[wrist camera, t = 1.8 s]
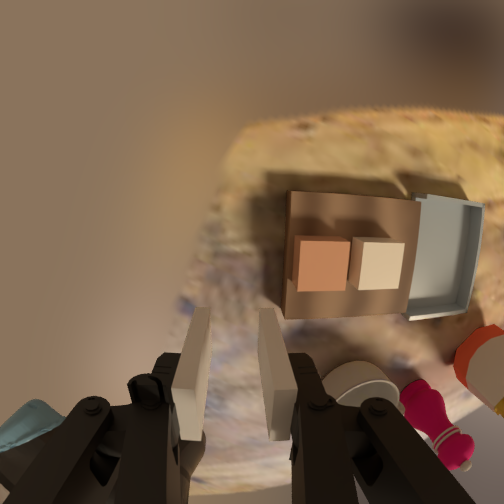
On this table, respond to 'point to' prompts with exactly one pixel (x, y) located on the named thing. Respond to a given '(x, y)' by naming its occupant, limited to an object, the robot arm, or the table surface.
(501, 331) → the french fries container
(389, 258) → the cream square block
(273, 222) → the table surface
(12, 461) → the robot arm
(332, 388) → the teacup
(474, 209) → the tray
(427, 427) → the pepper mill
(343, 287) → the orange square block
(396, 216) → the walnut board
